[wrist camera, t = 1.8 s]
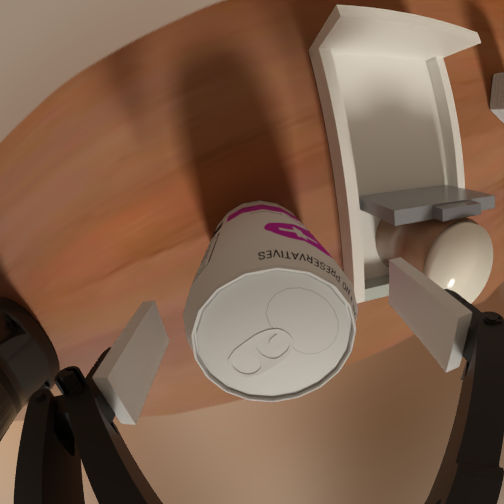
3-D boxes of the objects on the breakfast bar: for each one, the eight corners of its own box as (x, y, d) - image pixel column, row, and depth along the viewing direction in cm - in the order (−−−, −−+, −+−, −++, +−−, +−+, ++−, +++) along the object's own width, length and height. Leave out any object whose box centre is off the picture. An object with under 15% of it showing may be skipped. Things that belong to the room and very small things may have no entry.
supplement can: (264, 180, 24) (291, 204, 10) (322, 250, 26) (396, 344, 12) (194, 240, 26) (139, 334, 11) (254, 303, 28) (263, 429, 13)
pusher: (356, 208, 23) (403, 230, 16) (355, 196, 23) (403, 214, 15) (447, 195, 23) (504, 210, 15) (446, 185, 23) (504, 198, 15)
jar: (376, 277, 26) (423, 325, 17) (373, 204, 24) (430, 228, 15) (433, 263, 25) (487, 300, 17) (433, 196, 23) (497, 215, 15)
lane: (344, 289, 27) (380, 340, 19) (308, 50, 21) (336, 4, 12) (447, 264, 27) (497, 297, 18) (424, 56, 20) (477, 32, 11)
